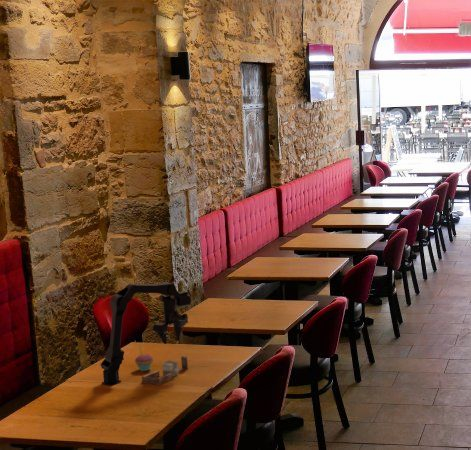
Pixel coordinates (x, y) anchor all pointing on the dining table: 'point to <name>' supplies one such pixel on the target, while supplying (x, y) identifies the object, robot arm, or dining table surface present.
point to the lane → (152, 377)
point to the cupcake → (143, 361)
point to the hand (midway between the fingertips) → (171, 341)
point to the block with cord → (174, 366)
